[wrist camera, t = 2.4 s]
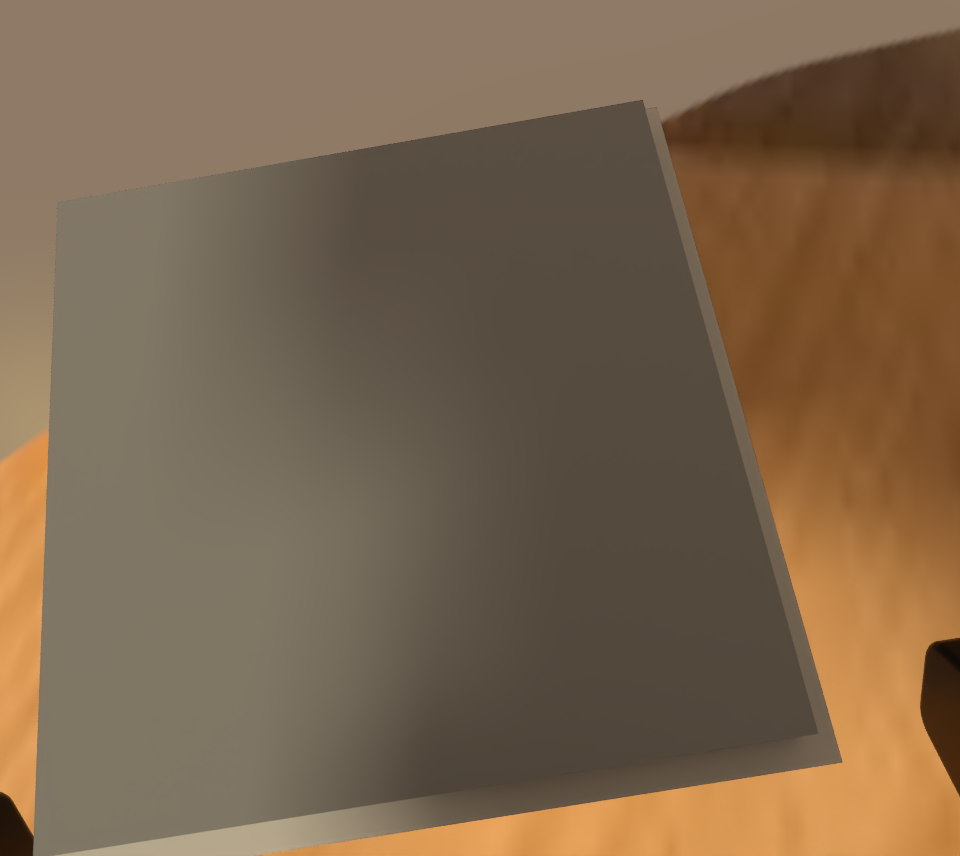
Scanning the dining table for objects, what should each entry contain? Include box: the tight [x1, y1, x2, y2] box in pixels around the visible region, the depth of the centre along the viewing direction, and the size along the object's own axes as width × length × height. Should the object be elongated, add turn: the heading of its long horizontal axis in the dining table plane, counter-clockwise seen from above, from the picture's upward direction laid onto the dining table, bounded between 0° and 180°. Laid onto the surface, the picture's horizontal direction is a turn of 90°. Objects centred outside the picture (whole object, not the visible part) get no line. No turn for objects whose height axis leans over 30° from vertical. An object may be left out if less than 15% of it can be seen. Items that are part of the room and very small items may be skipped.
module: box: [33, 100, 842, 856], centre depth 12 cm, size 5×5×13 cm
